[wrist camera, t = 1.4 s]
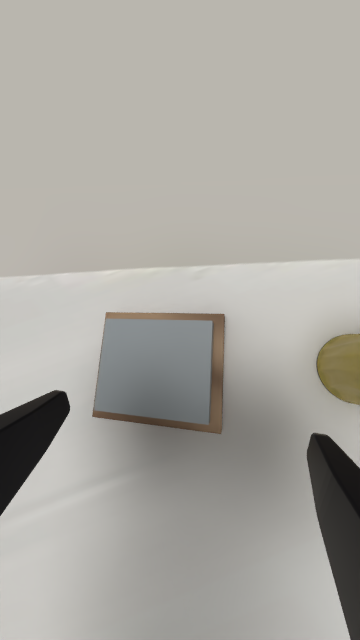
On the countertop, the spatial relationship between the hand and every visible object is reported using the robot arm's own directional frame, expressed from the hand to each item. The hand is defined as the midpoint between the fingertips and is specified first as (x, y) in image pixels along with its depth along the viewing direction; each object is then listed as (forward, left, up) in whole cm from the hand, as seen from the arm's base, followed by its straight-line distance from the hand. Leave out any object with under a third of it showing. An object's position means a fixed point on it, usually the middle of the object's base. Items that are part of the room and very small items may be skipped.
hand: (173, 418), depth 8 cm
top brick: (+1, +5, -13) cm, 15 cm away
